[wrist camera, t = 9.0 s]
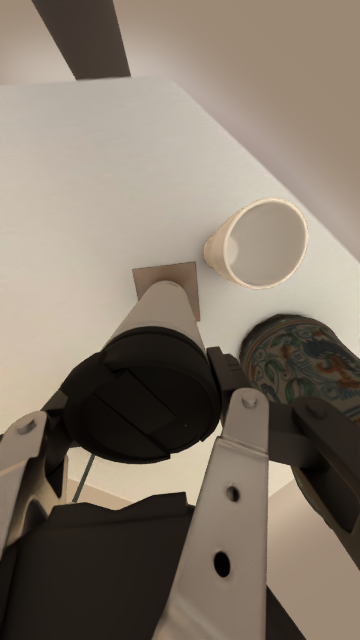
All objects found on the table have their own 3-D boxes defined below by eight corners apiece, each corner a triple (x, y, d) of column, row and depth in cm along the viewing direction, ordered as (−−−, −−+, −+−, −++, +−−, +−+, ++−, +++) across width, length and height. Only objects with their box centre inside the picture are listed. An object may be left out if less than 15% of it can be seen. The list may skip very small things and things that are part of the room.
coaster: (132, 269, 28) (132, 269, 28) (195, 261, 28) (195, 261, 28) (144, 326, 32) (143, 327, 31) (199, 320, 32) (200, 321, 31)
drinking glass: (191, 264, 28) (208, 272, 14) (209, 220, 26) (249, 177, 12) (229, 280, 29) (279, 302, 15) (249, 238, 27) (329, 219, 13)
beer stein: (322, 300, 31) (788, 442, 7) (322, 386, 37) (572, 607, 14) (229, 325, 32) (380, 517, 9) (245, 405, 39) (356, 638, 15)
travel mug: (169, 268, 24) (152, 317, 5) (196, 307, 26) (257, 446, 7) (133, 295, 25) (7, 418, 6) (162, 330, 27) (134, 505, 8)
